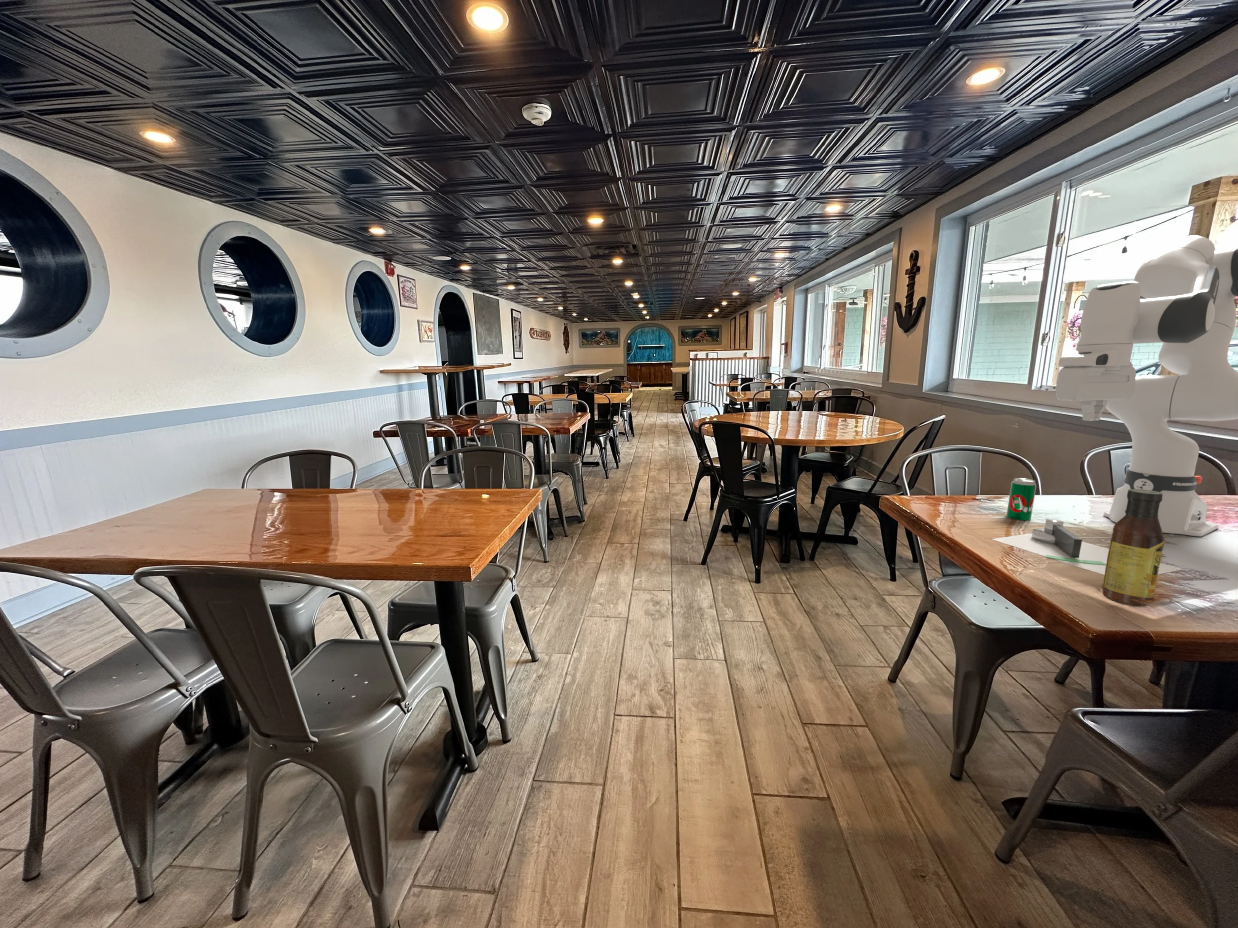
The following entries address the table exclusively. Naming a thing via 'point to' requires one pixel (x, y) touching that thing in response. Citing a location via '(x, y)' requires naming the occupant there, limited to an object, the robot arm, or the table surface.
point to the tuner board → (1088, 557)
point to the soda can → (1021, 499)
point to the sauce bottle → (1135, 550)
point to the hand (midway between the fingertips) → (1090, 420)
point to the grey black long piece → (1059, 537)
